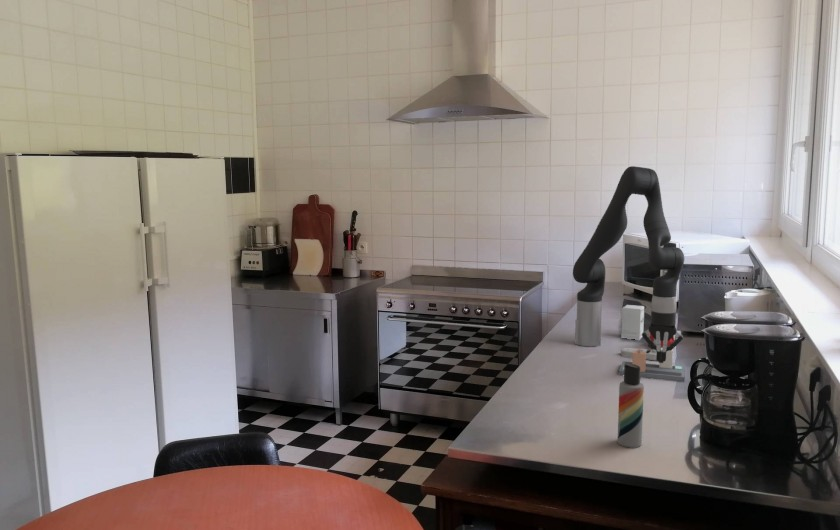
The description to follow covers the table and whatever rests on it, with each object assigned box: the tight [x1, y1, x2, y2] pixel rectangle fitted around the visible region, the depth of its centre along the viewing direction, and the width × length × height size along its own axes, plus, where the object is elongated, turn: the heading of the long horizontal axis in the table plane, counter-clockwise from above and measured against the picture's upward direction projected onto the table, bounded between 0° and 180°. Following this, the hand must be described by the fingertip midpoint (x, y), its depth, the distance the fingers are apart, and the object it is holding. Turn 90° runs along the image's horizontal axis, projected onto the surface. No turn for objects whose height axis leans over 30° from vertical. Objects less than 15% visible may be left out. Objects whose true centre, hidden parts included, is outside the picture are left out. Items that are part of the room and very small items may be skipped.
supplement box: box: [620, 304, 645, 341], centre depth 266 cm, size 7×7×13 cm
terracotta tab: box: [631, 348, 647, 372], centre depth 218 cm, size 4×3×7 cm
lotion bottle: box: [617, 364, 645, 449], centre depth 163 cm, size 6×6×20 cm
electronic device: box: [620, 339, 658, 362], centre depth 238 cm, size 5×10×15 cm
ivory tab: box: [658, 348, 674, 369], centre depth 221 cm, size 4×3×7 cm
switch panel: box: [618, 360, 686, 382], centre depth 220 cm, size 20×12×2 cm, turn 68°
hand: (660, 362), depth 215 cm, fingers closed
